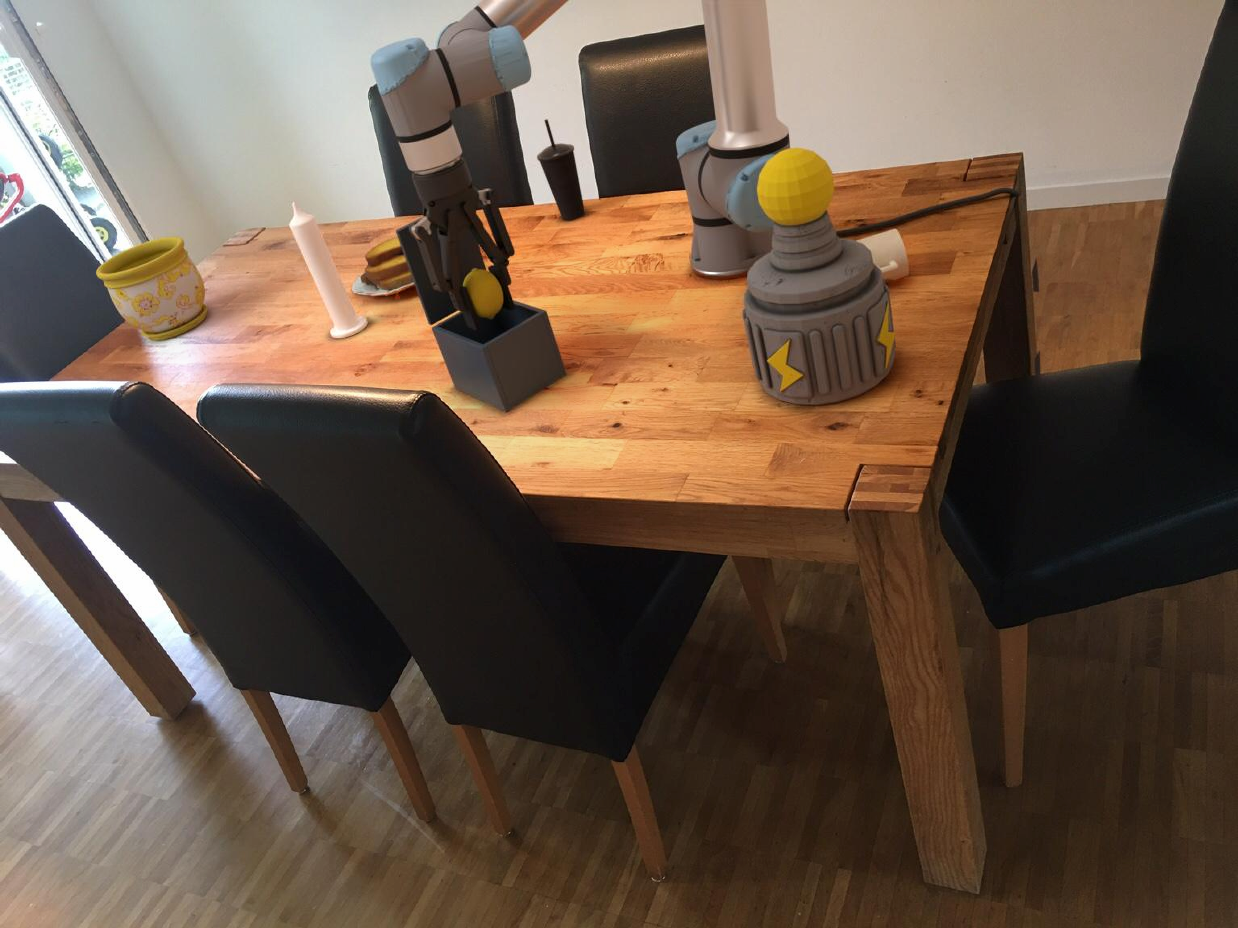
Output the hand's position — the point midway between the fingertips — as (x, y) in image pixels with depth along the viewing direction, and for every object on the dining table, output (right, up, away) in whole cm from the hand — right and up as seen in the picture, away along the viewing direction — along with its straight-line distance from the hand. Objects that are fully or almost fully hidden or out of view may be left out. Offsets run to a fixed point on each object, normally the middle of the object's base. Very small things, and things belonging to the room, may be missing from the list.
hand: (491, 317), depth 149 cm
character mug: (+47, +6, +3) cm, 48 cm away
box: (+2, -9, +7) cm, 12 cm away
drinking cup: (+9, +30, +62) cm, 69 cm away
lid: (-7, +8, +2) cm, 11 cm away
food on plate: (-22, +17, +57) cm, 64 cm away
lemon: (0, 0, 0) cm, 0 cm away
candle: (-32, +4, +42) cm, 52 cm away
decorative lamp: (+46, -9, -13) cm, 49 cm away
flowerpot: (-75, +8, +68) cm, 102 cm away
